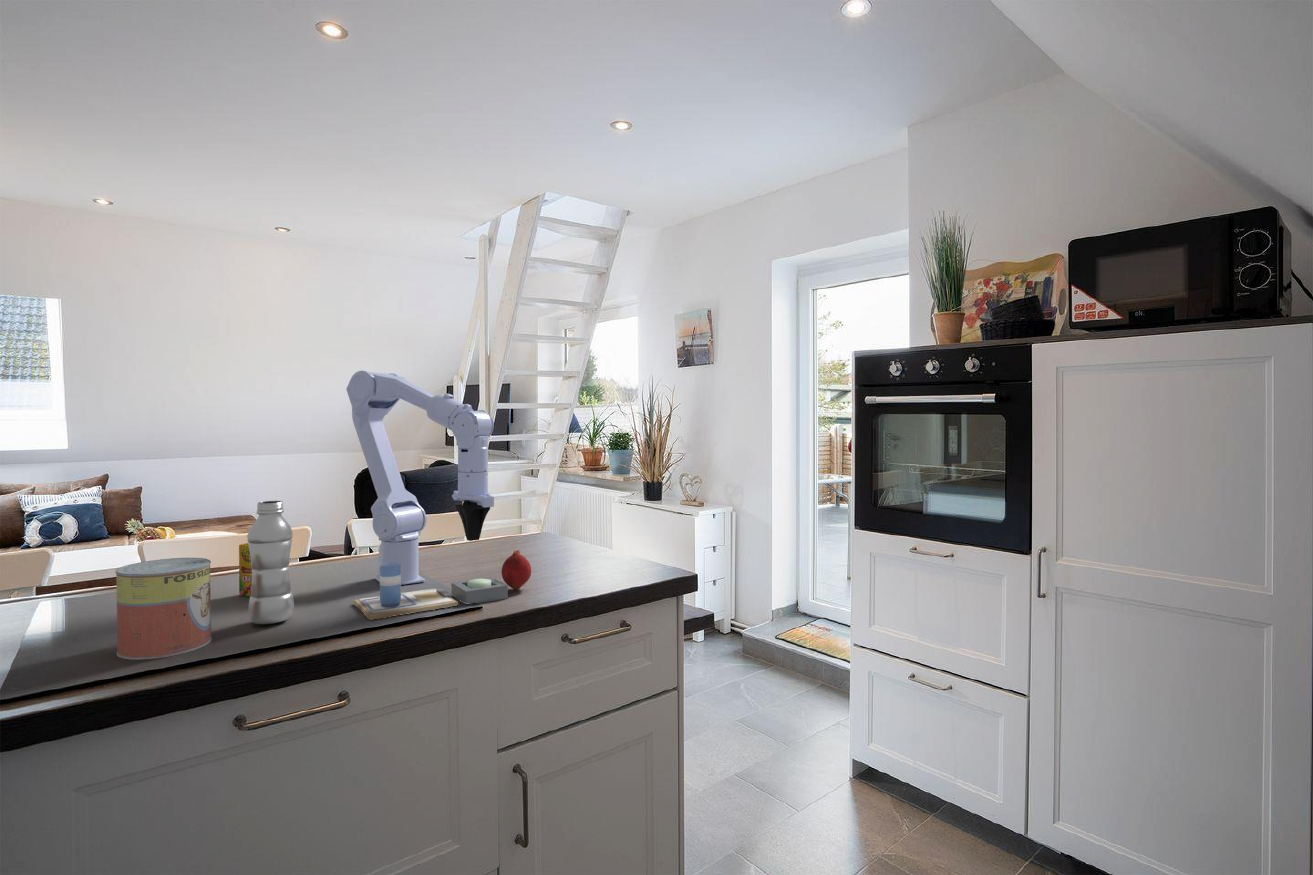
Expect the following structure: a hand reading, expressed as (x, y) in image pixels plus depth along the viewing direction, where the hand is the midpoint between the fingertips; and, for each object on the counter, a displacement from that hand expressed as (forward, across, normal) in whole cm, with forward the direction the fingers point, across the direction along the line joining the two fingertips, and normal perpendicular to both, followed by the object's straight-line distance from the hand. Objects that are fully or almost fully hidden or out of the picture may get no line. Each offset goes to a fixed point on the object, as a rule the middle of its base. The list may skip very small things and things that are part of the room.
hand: (473, 539), depth 131 cm
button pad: (+10, +6, -1) cm, 12 cm away
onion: (+10, +5, +7) cm, 13 cm away
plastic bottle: (+10, 0, -35) cm, 37 cm away
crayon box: (+10, -20, -34) cm, 41 cm away
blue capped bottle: (+9, +5, -18) cm, 20 cm away
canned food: (+10, +3, -49) cm, 50 cm away
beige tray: (+10, +3, -14) cm, 18 cm away
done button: (+9, +6, -1) cm, 11 cm away
